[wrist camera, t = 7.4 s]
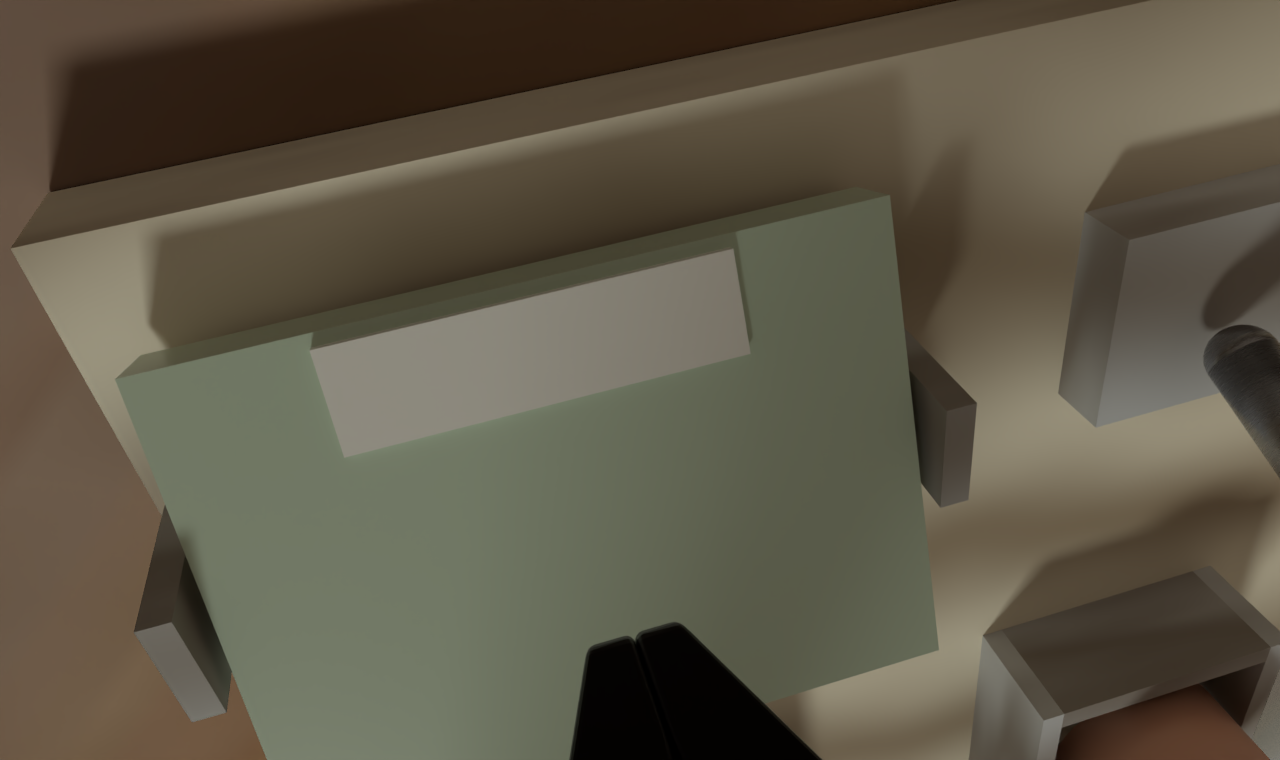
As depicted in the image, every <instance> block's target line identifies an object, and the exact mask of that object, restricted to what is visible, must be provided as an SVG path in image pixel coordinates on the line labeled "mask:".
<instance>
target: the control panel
mask: <svg viewBox="0 0 1280 760" xmlns="http://www.w3.org/2000/svg"><path fill="white" fill-rule="evenodd" d="M853 187H859V188H864V189H868V190H872V191H876V192H880V193H884V194H888V195H890V201H891V210H892V220H893V229H894V238H895V247H896V256H897V266H898V275H899V284H900V293H901V303H902V312H903V321H904V330H905V340H906V349H907V358H908V367H909V377H910V386H911V395H912V404H913V414H914V423H915V432H916V441H917V451H918V460H919V469H920V478H921V488H922V497H923V506H924V515H925V525H926V534H927V543H928V552H929V562H930V571H931V580H932V589H933V599H934V608H935V617H936V626H937V635H938V645H939V650H938V651H934V652H931V653H928V654H925V655H921V656H918V657H915V658H912V659H908V660H905V661H902V662H899V663H895V664H892V665H889V666H886V667H882V668H879V669H876V670H873V671H869V672H866V673H863V674H859V675H856V676H853V677H850V678H846V679H843V680H840V681H837V682H833V683H830V684H827V685H824V686H820V687H817V688H814V689H811V690H807V691H804V692H801V693H798V694H794V695H791V696H788V697H785V698H781V699H778V700H775V701H772V702H768V703H765V704H766V705H767V706H768V707H769V708H770V709H771V710H772V711H773V712H774V713H775V714H776V715H777V716H778V717H779V718H780V719H781V720H782V721H783V722H784V723H785V724H786V725H787V726H788V727H789V728H790V729H791V730H792V731H794V732H795V733H796V734H797V735H798V736H799V737H800V738H801V739H802V740H803V741H804V742H805V743H806V744H807V745H808V746H809V747H810V748H811V749H812V750H813V751H814V752H815V753H816V754H817V755H818V756H819V757H820V758H821V759H822V760H1055V758H1056V753H1057V748H1058V746H1059V744H1060V743H1061V741H1062V740H1063V739H1064V738H1065V736H1066V735H1067V734H1068V733H1069V732H1070V731H1071V730H1072V729H1073V728H1074V727H1075V726H1076V725H1077V724H1078V723H1079V722H1081V721H1084V720H1087V719H1090V718H1093V717H1097V716H1100V715H1103V714H1106V713H1109V712H1112V711H1115V710H1118V709H1121V708H1124V707H1127V706H1130V705H1133V704H1137V703H1140V702H1143V701H1146V700H1149V699H1152V698H1155V697H1158V696H1161V695H1164V694H1167V693H1170V692H1173V691H1177V690H1180V689H1183V688H1186V687H1189V686H1192V685H1195V684H1198V683H1199V684H1200V685H1202V686H1203V687H1204V688H1205V689H1206V690H1207V691H1208V692H1209V693H1210V694H1211V696H1212V697H1213V698H1214V699H1215V700H1216V701H1217V702H1218V703H1219V704H1220V705H1221V706H1222V708H1223V709H1224V710H1225V711H1226V712H1227V713H1228V714H1229V715H1230V716H1231V717H1232V719H1233V720H1234V721H1235V722H1236V723H1237V724H1238V725H1239V726H1240V727H1241V728H1242V729H1243V731H1244V732H1245V733H1246V734H1247V735H1248V736H1249V737H1250V738H1251V739H1252V738H1253V736H1254V733H1255V730H1256V728H1257V725H1258V723H1259V720H1260V718H1261V715H1262V712H1263V710H1264V707H1265V705H1266V702H1267V700H1268V697H1269V695H1270V692H1271V689H1272V687H1273V684H1274V682H1275V679H1276V677H1277V674H1278V671H1279V669H1280V478H1279V477H1278V475H1277V474H1276V472H1275V471H1274V469H1273V468H1272V467H1271V465H1270V464H1269V462H1268V461H1267V459H1266V458H1265V457H1264V455H1263V454H1262V452H1261V451H1260V449H1259V448H1258V446H1257V445H1256V444H1255V442H1254V441H1253V439H1252V438H1251V436H1250V435H1249V433H1248V432H1247V431H1246V429H1245V428H1244V426H1243V425H1242V423H1241V422H1240V420H1239V419H1238V418H1237V416H1236V415H1235V413H1234V412H1233V410H1232V409H1231V408H1230V406H1229V405H1228V403H1227V402H1226V400H1225V399H1224V397H1223V396H1222V395H1221V393H1220V392H1219V390H1218V389H1217V387H1216V386H1215V384H1214V383H1213V382H1212V380H1211V379H1210V377H1209V376H1208V374H1207V372H1206V370H1205V367H1204V363H1203V355H1204V350H1205V348H1206V346H1207V344H1208V342H1209V340H1210V339H1211V338H1212V337H1213V336H1214V335H1215V334H1216V333H1218V332H1219V331H1221V330H1223V329H1225V328H1227V327H1230V326H1234V325H1241V324H1244V325H1253V326H1258V327H1260V328H1262V329H1265V330H1266V331H1268V332H1269V333H1271V334H1272V335H1273V336H1274V337H1275V338H1276V339H1277V340H1278V342H1279V343H1280V0H958V1H953V2H949V3H944V4H939V5H934V6H930V7H925V8H920V9H915V10H911V11H906V12H901V13H897V14H892V15H887V16H882V17H878V18H873V19H868V20H863V21H859V22H854V23H849V24H845V25H840V26H835V27H830V28H826V29H821V30H816V31H811V32H807V33H802V34H797V35H792V36H788V37H783V38H778V39H774V40H769V41H764V42H759V43H755V44H750V45H745V46H740V47H736V48H731V49H726V50H721V51H717V52H712V53H707V54H703V55H698V56H693V57H688V58H684V59H679V60H674V61H669V62H665V63H660V64H655V65H650V66H646V67H641V68H636V69H632V70H627V71H622V72H617V73H613V74H608V75H603V76H598V77H594V78H589V79H584V80H579V81H575V82H570V83H565V84H561V85H556V86H551V87H546V88H542V89H537V90H532V91H527V92H523V93H518V94H513V95H509V96H504V97H499V98H494V99H490V100H485V101H480V102H475V103H471V104H466V105H461V106H456V107H452V108H447V109H442V110H438V111H433V112H428V113H423V114H419V115H414V116H409V117H404V118H400V119H395V120H390V121H385V122H381V123H376V124H371V125H367V126H362V127H357V128H352V129H348V130H343V131H338V132H333V133H329V134H324V135H319V136H314V137H310V138H305V139H300V140H296V141H291V142H286V143H281V144H277V145H272V146H267V147H262V148H258V149H253V150H248V151H243V152H239V153H234V154H229V155H225V156H220V157H215V158H210V159H206V160H201V161H196V162H191V163H187V164H182V165H177V166H172V167H168V168H163V169H158V170H154V171H149V172H144V173H139V174H135V175H130V176H125V177H120V178H116V179H111V180H106V181H102V182H97V183H92V184H87V185H83V186H78V187H73V188H68V189H64V190H59V191H54V192H49V193H48V194H47V195H46V197H45V198H44V200H43V201H42V203H41V204H40V206H39V207H38V209H37V210H36V211H35V213H34V214H33V216H32V217H31V219H30V220H29V222H28V223H27V225H26V226H25V228H24V229H23V231H22V232H21V234H20V235H19V237H18V238H17V240H16V241H15V243H14V244H13V246H12V247H11V250H12V252H13V254H14V256H15V257H16V259H17V261H18V263H19V264H20V266H21V268H22V270H23V272H24V273H25V275H26V277H27V279H28V280H29V282H30V284H31V286H32V288H33V289H34V291H35V293H36V295H37V296H38V298H39V300H40V302H41V303H42V305H43V307H44V309H45V311H46V312H47V314H48V316H49V318H50V319H51V321H52V323H53V325H54V326H55V328H56V330H57V332H58V334H59V335H60V337H61V339H62V341H63V342H64V344H65V346H66V348H67V349H68V351H69V353H70V355H71V357H72V358H73V360H74V362H75V364H76V365H77V367H78V369H79V371H80V372H81V374H82V376H83V378H84V380H85V381H86V383H87V385H88V387H89V388H90V390H91V392H92V394H93V395H94V397H95V399H96V401H97V403H98V404H99V406H100V408H101V410H102V411H103V413H104V415H105V417H106V418H107V420H108V422H109V424H110V426H111V427H112V429H113V431H114V433H115V434H116V436H117V438H118V440H119V441H120V443H121V445H122V447H123V449H124V450H125V452H126V454H127V456H128V457H129V459H130V461H131V463H132V464H133V466H134V468H135V470H136V472H137V473H138V475H139V477H140V479H141V480H142V482H143V484H144V486H145V487H146V489H147V491H148V493H149V495H150V496H151V498H152V500H153V502H154V503H155V505H156V507H157V509H158V510H159V512H160V514H161V516H162V518H161V522H160V526H159V530H158V534H157V539H156V543H155V547H154V551H153V555H152V559H151V563H150V568H149V572H148V576H147V580H146V584H145V588H144V592H143V597H142V601H141V605H140V609H139V613H138V617H137V621H136V626H135V630H134V634H135V635H136V637H137V638H138V640H139V641H140V643H141V644H142V646H143V647H144V649H145V650H146V652H147V654H148V655H149V657H150V658H151V660H152V661H153V663H154V664H155V666H156V667H157V669H158V671H159V672H160V674H161V675H162V677H163V678H164V680H165V681H166V683H167V684H168V686H169V687H170V689H171V691H172V692H173V694H174V695H175V697H176V698H177V700H178V701H179V703H180V704H181V706H182V707H183V709H184V711H185V712H186V714H187V715H188V717H189V718H190V720H191V721H192V722H195V721H198V720H202V719H205V718H209V717H212V716H216V715H219V714H223V713H226V712H227V705H228V697H229V689H230V681H231V673H232V671H231V668H230V666H229V663H228V661H227V658H226V656H225V653H224V651H223V648H222V646H221V643H220V641H219V638H218V636H217V633H216V631H215V628H214V626H213V623H212V621H211V618H210V616H209V613H208V611H207V608H206V606H205V603H204V601H203V598H202V596H201V593H200V591H199V588H198V586H197V583H196V581H195V578H194V576H193V573H192V571H191V568H190V566H189V563H188V561H187V558H186V556H185V553H184V551H183V548H182V546H181V543H180V541H179V538H178V536H177V533H176V531H175V528H174V526H173V523H172V521H171V518H170V516H169V513H168V511H167V508H166V506H165V503H164V501H163V498H162V496H161V493H160V491H159V488H158V486H157V483H156V481H155V478H154V476H153V473H152V471H151V468H150V466H149V463H148V461H147V458H146V456H145V453H144V451H143V448H142V446H141V443H140V441H139V438H138V436H137V433H136V431H135V428H134V426H133V423H132V421H131V418H130V416H129V413H128V411H127V408H126V406H125V403H124V401H123V398H122V396H121V393H120V391H119V388H118V386H117V383H116V381H115V379H116V378H117V377H118V376H119V375H120V374H121V373H122V372H123V371H124V370H125V369H126V368H128V367H129V366H130V365H131V364H132V363H133V362H134V361H135V360H136V359H137V358H138V357H139V356H140V355H143V354H148V353H152V352H156V351H160V350H165V349H169V348H173V347H177V346H182V345H186V344H190V343H194V342H199V341H203V340H207V339H211V338H216V337H220V336H224V335H228V334H233V333H237V332H241V331H245V330H250V329H254V328H258V327H262V326H267V325H271V324H275V323H279V322H284V321H288V320H292V319H296V318H301V317H305V316H309V315H313V314H318V313H322V312H326V311H330V310H334V309H339V308H343V307H347V306H351V305H356V304H360V303H364V302H368V301H373V300H377V299H381V298H385V297H390V296H394V295H398V294H402V293H407V292H411V291H415V290H419V289H424V288H428V287H432V286H436V285H441V284H445V283H449V282H453V281H458V280H462V279H466V278H470V277H475V276H479V275H483V274H487V273H492V272H496V271H500V270H504V269H509V268H513V267H517V266H521V265H526V264H530V263H534V262H538V261H543V260H547V259H551V258H555V257H560V256H564V255H568V254H572V253H577V252H581V251H585V250H589V249H594V248H598V247H602V246H606V245H611V244H615V243H619V242H623V241H628V240H632V239H636V238H640V237H645V236H649V235H653V234H657V233H661V232H666V231H670V230H674V229H678V228H683V227H687V226H691V225H695V224H700V223H704V222H708V221H712V220H717V219H721V218H725V217H729V216H734V215H738V214H742V213H746V212H751V211H755V210H759V209H763V208H768V207H772V206H776V205H780V204H785V203H789V202H793V201H797V200H802V199H806V198H810V197H814V196H819V195H823V194H827V193H831V192H836V191H840V190H844V189H848V188H853Z"/></svg>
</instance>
